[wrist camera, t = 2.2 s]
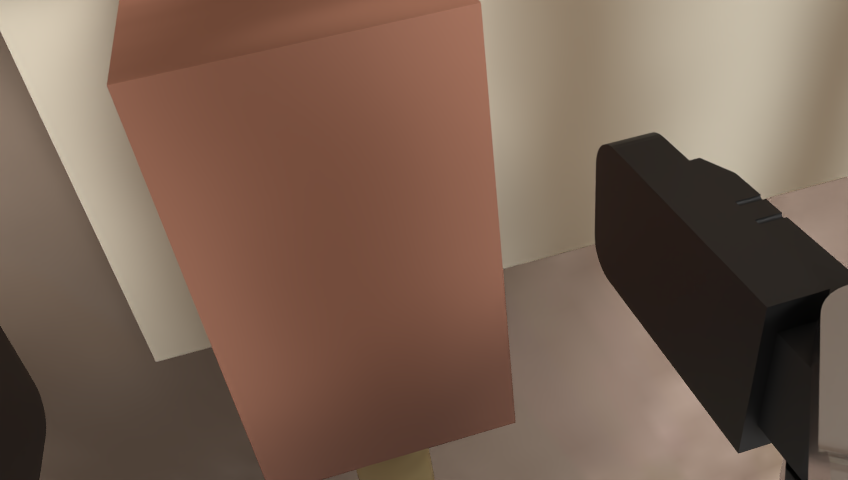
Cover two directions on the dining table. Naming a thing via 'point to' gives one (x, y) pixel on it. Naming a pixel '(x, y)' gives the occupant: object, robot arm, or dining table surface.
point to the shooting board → (495, 117)
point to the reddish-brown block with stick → (329, 217)
